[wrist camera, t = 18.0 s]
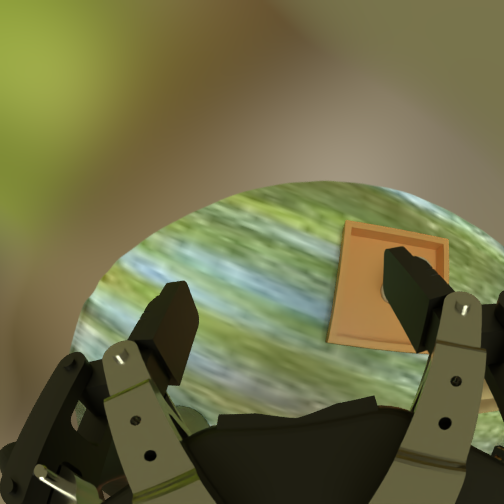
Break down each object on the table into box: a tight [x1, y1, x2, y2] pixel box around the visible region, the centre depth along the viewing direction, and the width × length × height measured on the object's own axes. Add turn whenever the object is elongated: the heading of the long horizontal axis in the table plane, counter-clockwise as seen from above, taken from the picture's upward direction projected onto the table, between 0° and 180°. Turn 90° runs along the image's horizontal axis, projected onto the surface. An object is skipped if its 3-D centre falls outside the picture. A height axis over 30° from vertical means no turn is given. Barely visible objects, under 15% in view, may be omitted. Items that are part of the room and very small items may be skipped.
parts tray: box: [326, 220, 449, 354], centre depth 36 cm, size 18×18×4 cm
